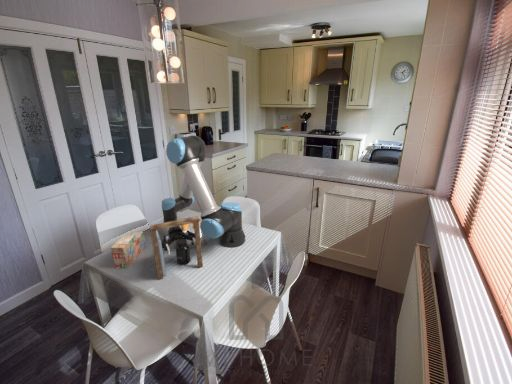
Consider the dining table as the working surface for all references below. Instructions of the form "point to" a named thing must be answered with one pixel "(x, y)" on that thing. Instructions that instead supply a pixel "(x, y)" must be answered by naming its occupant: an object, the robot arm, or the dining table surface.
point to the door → (161, 254)
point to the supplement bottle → (182, 252)
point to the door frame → (173, 224)
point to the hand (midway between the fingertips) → (183, 249)
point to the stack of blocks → (127, 249)
